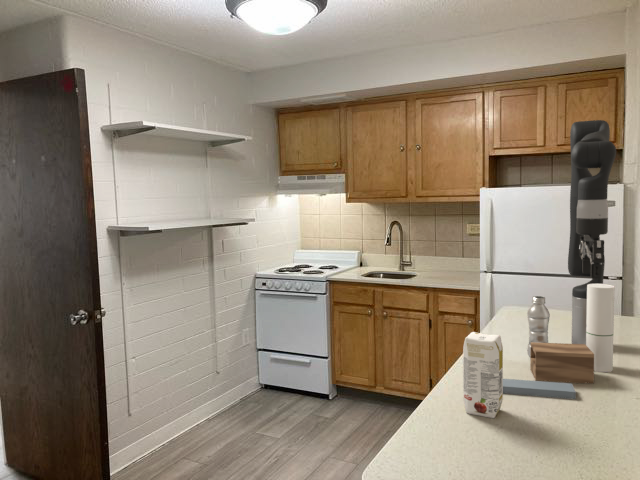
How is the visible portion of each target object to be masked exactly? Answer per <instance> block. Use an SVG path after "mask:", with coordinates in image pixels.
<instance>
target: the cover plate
mask: <svg viewBox="0 0 640 480" xmlns="http://www.w3.org/2000/svg"><path fill="white" fill-rule="evenodd" d="M576 393H577V392H576V390H575V388H574V385H573V383H571V382H552V381H536V380H528V379H527V380H526V379H514V378H513V379H512V378H503V394H508V395H518V396H520V395H521V396H530V397H544V398H545V397H546V398H557V399H566V400H567V399H568V400H577V399H576Z"/></svg>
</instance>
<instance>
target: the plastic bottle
mask: <svg viewBox="0 0 640 480" xmlns="http://www.w3.org/2000/svg"><path fill="white" fill-rule="evenodd" d="M531 303H532V305H531V306H530V307H529V308H528V310H527V313H526V314H527V316H526V317H527V321H528V330H529V332H528V335H529V336H528V344H527V348H526V351H527V355H528V357H529V358H530V349H531V342H535V343H549V336H548V334H549V332H548V331H549V323H550V316H551V314H550V311H549V309H548V308H547V306H546V305H545V304H546V297H545V296H540V295H536V296H535V295H533V296H532V300H531Z"/></svg>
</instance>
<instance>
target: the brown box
mask: <svg viewBox="0 0 640 480" xmlns="http://www.w3.org/2000/svg"><path fill="white" fill-rule="evenodd" d="M529 358H530V360H529V361H530V367H529V368H530V372H531V374H532V376H533V378H534V381H543V382H557V383H571V384H574V383H576V384H593V385H594V384H595V380H594V378H595V374H594V373H595V371H594V353H593V352H592V351H591V350H590V349H589V348H588V347H587V346H586V345H585V344H572V343H561V342H560V343H558V342H548V343H535V342H531V349H530V357H529Z"/></svg>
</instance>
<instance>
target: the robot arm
mask: <svg viewBox="0 0 640 480" xmlns="http://www.w3.org/2000/svg"><path fill="white" fill-rule="evenodd" d="M610 130H611V129H610V125H609V122H608V121H606V120H603V119H596V120H582V121H574V122H573V123H572V124H571V126H570V134H569V135H570V136H569V137H570V138H569V139H570V140H569V141H570V146H569V147H570V165H571V170H570V172H571V173H570V174H571V176H570V194H569V217H570V218H569V221H570V222H569V223H570V225H569V226H570V227H569V229H570V230H569V244H568V254H567V255H568V257H567V270H568V274H569V275H570V276H573V277H586V278H587V277H588V278H591V280H589V281H587V282H585V283H583V284H580V285H576V286H574V287H573V288H572V293H571V295H572V296H571V344H585V345H586V319H587V285H588V284H604V275H605V264H606V263H605V260H606V259H605V257H606V256H605V240H604V239H601V237H600V236H603V235H607V234H608V232H609V231H608V229H609V228H608V225H609V224H608V223H609V205H608V203H609V202H608V187H609V180H610V179H609V178H610V174H611V172H612V168H613V164H614V162H615V161H616V160H615V159H616V156H617V148H616V146H615V144H614V143H613V142H612V141H611V140H610V138H611V137H610V136H611V135H610V134H611V131H610ZM590 169H600V170H599V172H598V173H597V174H594V175H593V174H592V173H591V172H590Z"/></svg>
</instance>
